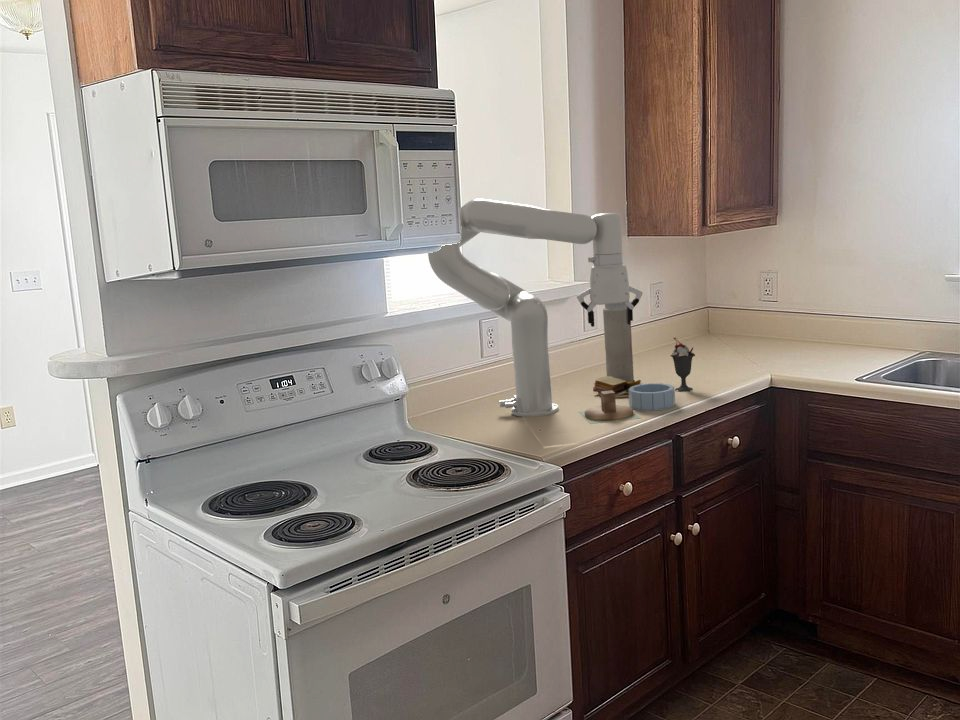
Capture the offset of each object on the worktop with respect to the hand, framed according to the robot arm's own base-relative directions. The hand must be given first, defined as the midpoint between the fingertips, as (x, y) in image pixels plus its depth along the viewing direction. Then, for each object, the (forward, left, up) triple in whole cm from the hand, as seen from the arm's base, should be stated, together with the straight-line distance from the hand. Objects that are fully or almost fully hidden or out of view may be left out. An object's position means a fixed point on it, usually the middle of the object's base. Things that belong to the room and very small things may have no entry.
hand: (610, 324), depth 235 cm
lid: (-5, -12, -21) cm, 25 cm away
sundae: (+22, +8, -22) cm, 32 cm away
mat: (-5, -12, -22) cm, 25 cm away
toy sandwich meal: (+4, +10, -22) cm, 25 cm away
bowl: (+8, -7, -22) cm, 24 cm away
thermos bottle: (+9, +27, -22) cm, 36 cm away
